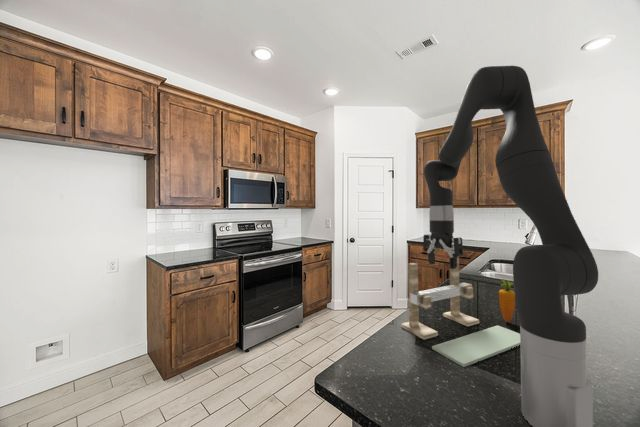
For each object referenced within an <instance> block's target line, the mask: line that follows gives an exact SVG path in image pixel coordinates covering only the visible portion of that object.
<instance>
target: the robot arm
mask: <svg viewBox="0 0 640 427" xmlns="http://www.w3.org/2000/svg"><path fill="white" fill-rule="evenodd" d="M533 98H534V97H533V92H532V88H531V83H530V80H529V76H528V74H527V71H526V70H525V69H524V68H523V67H522V66H518V65H495V66H494V65H493V66H484V67H481V68H478V70H476V71H475V72H474V73H473V75H472V76H471V78H470V80H469V82H468V83H467V86H466V88H465V91H464V94H463V96H462V99H461V101H460V104H459V107H458V109H457V113H456V116H455V119H454V122H453V125H452V127H451V129H450V132H449V134H448V136H447V138H446V139H445V141H444V143H443V144H442V147H441V148H440V149H439V152H438V159H439V160H437V159H436V160H428V162H426V163H425V165H424V166H423V167H424V168H423V175H424V180H425V181H426V185H427V188H428V191H429V192H428V193H429V214H428V215H429V232H430V234H423V243H422V244H423V245H422V251H424V252H426V253H427V260H428V264H429V265H434V264H436V251H437V250H438V249H441V250H444V251H445V252H446V253H447V254H448V256H449V270H450V269H456V267H457V258H459V257H462V256H464V248H463V246H464V245H463V238H462V237H454V234H453V233H454V232H455V220H454V219H455V218H454V208H453V207H454V206H453V199H454V198H453V190H452V189H450V188H448V187H444V186H441V185H440V182H449V181H453V180H454V179H456V177H458V174H459V170H460V167H461V163H462V160H463V159H464V157H465V156H466V154H467V153H468V152H469V150H470V148H471V147H472V145H473V142H474V131H473V120H474V118H475V117H476V115H477V114H478V113H479V111H481V110H500V111H501V112H502V114H503V117H504V122H505V127H506V128H505V133H504V135H503V137H502V139H501V142H500V144H499V146H498V148H497V151H496V154H495V160H494V161H495V168H496V171H497V175H498V178H499V182H500V185H501V187H502V190H503V192H504V193H505V194H506V195H507V196H508V197H509V199H510V200H511V201H512V202H513V203H514V204H515V205H516V206H518V208H520V210H521V211H522V212H524V213H525V215H526V216H527V217H528V218H529V219H530V220H531V221H532V223H533V224H534V226H535V228H536V231H537V232H538V235H539V237H540V240H541V243H542V244H531V245H525V246H523V247H520V248H519V249H518V250H517V251H516V253H515V256H514V257H513V262H512V276H513V278H512V280H513V288H514V289H513V292H514V293H515V308H516V311H517V314H518V316H519V329H520V330H519V334H520V348H519V349H520V394H521V395H520V396H521V397H520V398H521V399H520V402H521V414H522V416H524V417H523V418H524V420H525V421H526V420H527V421H528V422H527V421H526V422H527V423H529V425H531V426H532V427H594V411H593V410H594V408H593V407H594V406H593V405H594V404H593V403H594V402H593V400H594V393H593V390H594V389H593V386H594V385H593V384H594V383H593V381H592V380H591V379H588V378H587V377H588V376H587V373H588V372H587V369H588V368H587V328H586V324H585V322H584V321H583V320H582V319H581V318H579V317H578V316H576V315H575V314H571V313H569V312H566V311H563V305H562V296H574V295H575V296H576V295H583V294H584V295H585V294H588V293H590V292H592V291H593V290H594V289H596V286H597V285H598V282H599V268H598V265H597V262H596V259H595V258H594V254H593V253H592V251H591V249H590V246H589V245H588V243H587V241H586V238H585V237H584V235H583V233H582V231H581V229H580V227H579V225H578V222H577V221H576V220H575V217H574V215H573V213H572V210H571V208H570V206H569V203H568V200H567V198H566V195H565V193H564V190H563V188H562V184H561V182H560V180H559V177H558V174H557V170H556V166H555V165H554V162H553V161H554V160H553V159H552V156H551V153H550V151H549V148H548V146H547V144H546V140H545V137H544V135H543V132H542V128H541V126H540V123H539V120H538V116H537V113H536V107H535V103H534V99H533Z"/></svg>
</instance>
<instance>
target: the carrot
mask: <svg viewBox="0 0 640 427" xmlns="http://www.w3.org/2000/svg"><path fill="white" fill-rule="evenodd" d="M501 282H502V284H500V286H501V287H502V288H503V289H499V291H498V299H499V309H500V312H501V316H502V317H503V319H504V321H505V322H506V323H507V322H508V323H509V322H511V320H512V318H513V317H514V313H515V310H516V309H515V308H516V304H515V292H514V290H511V288H512V287H513V286H514V282H510V281H509V280H507V282H506V280H505V279H504V278H502V279H501Z"/></svg>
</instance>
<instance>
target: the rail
mask: <svg viewBox="0 0 640 427" xmlns="http://www.w3.org/2000/svg"><path fill="white" fill-rule="evenodd" d="M468 287H472V288H473V284H472V283H468V282H461V283H460V282H459V284H454V285H450V284H449V285H444V286H439V287H434V288H429V289H425V290H418V292H413V293H410V302H411V303H414V304H416V305H420V304H423V297H425V296H431V303H433V302H438V301H442V300H445V299H450V298H451V297H456V296H460V295H465V294H466V288H468ZM460 297H461V296H460Z"/></svg>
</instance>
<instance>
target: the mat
mask: <svg viewBox="0 0 640 427" xmlns="http://www.w3.org/2000/svg"><path fill="white" fill-rule="evenodd" d="M519 345H520V332H517V331H514V330H511V329H508V328H506V327H503V326H500V325H498V324H497V325H495V326H491V327H488V328H486V329H485V328H484V329H481V330H479V331H475V332H472V333H470V334H466V335H463V336H460V337H457V338H454V339H451V340H447V341H444V342H441V343H438V344H435V345H432V346H431V349H432V350H433V351H435V352H436V353H438V354H440V355H442V356H443V357H445V358H447V359H449V360H451V361H452V362H454V363H455V364H457V365H459V366H461V367H462V368H465V367H468V366H471V365H473V364H475V363H478V361H479V362H481V361H483V360H486V359H489V358H492V357H494V356H497V355H499V354H502V353H504V352H506V351H509V350H511V348H512V349H514V347H515V348H517V347H519ZM516 346H517V347H516Z"/></svg>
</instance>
